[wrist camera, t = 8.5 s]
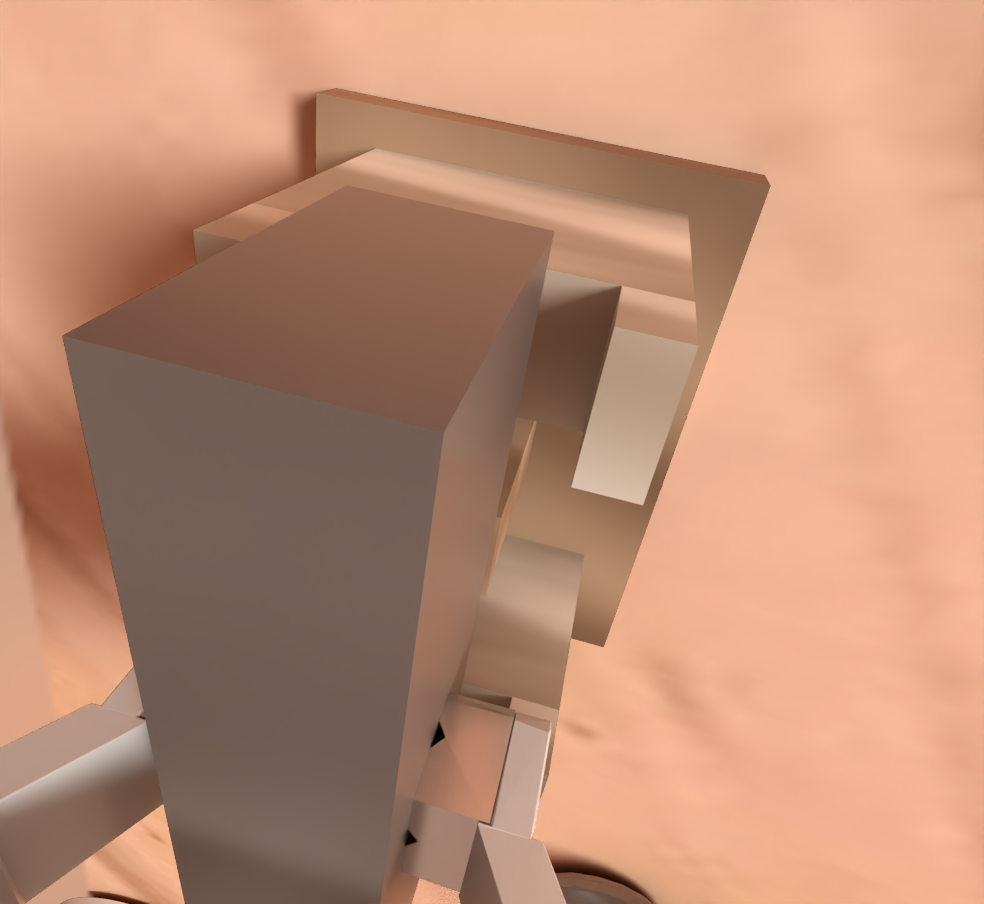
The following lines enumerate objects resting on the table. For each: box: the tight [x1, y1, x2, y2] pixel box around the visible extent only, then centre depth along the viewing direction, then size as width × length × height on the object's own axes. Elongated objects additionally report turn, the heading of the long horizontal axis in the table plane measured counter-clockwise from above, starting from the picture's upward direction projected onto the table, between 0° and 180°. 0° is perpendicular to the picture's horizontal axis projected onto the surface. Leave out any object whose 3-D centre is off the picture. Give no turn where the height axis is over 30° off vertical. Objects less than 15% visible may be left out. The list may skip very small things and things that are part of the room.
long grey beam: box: [62, 185, 554, 904], centre depth 9 cm, size 13×2×4 cm, turn 171°
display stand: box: [193, 88, 771, 801], centre depth 15 cm, size 13×9×8 cm
